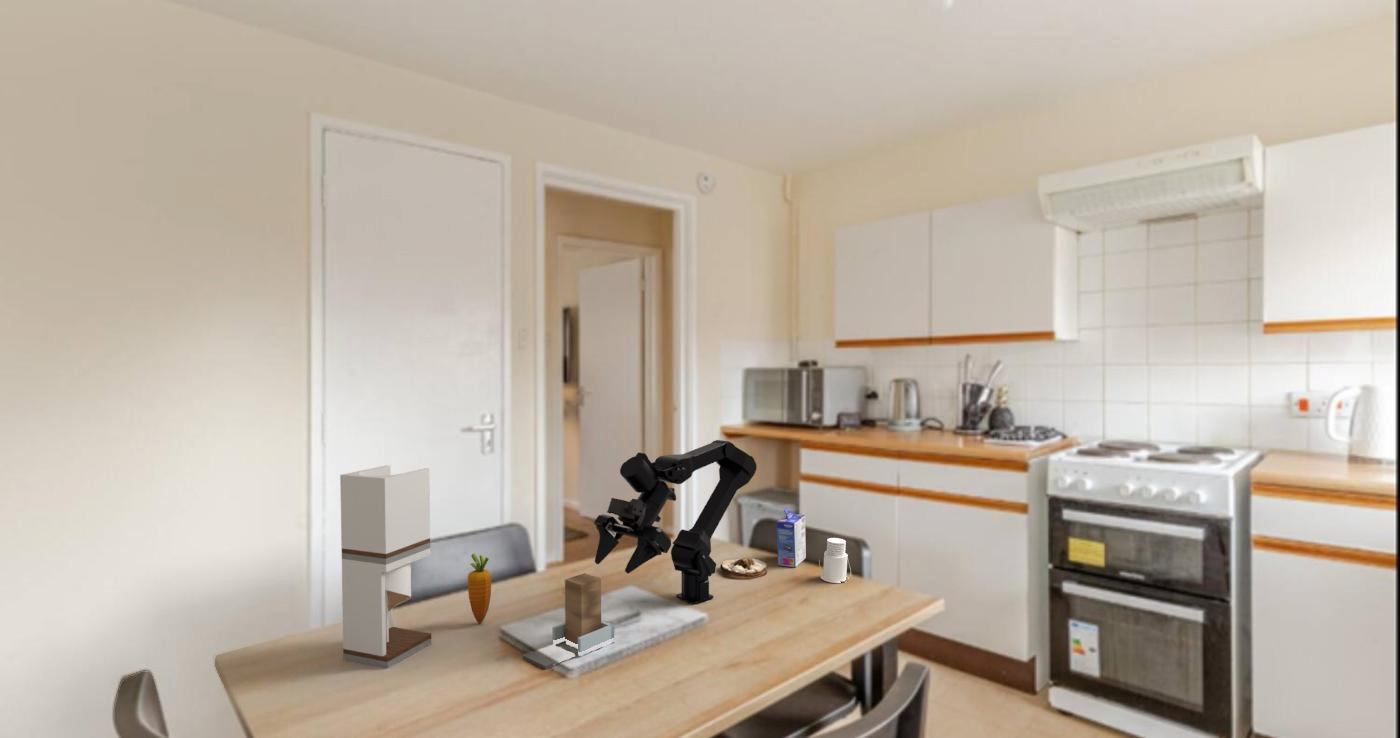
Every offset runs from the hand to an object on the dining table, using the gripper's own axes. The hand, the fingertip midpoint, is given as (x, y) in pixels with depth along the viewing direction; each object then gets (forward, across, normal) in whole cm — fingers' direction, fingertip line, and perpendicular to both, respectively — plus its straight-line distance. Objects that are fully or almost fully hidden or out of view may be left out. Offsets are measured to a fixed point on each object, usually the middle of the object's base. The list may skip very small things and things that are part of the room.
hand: (611, 567), depth 145 cm
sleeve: (+17, 0, +2) cm, 17 cm away
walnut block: (+15, 0, +4) cm, 15 cm away
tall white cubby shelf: (+34, -26, -15) cm, 45 cm away
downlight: (-32, +18, +52) cm, 64 cm away
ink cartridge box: (-36, +2, +55) cm, 66 cm away
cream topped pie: (-25, -3, +45) cm, 51 cm away
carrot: (+20, -24, -1) cm, 32 cm away
